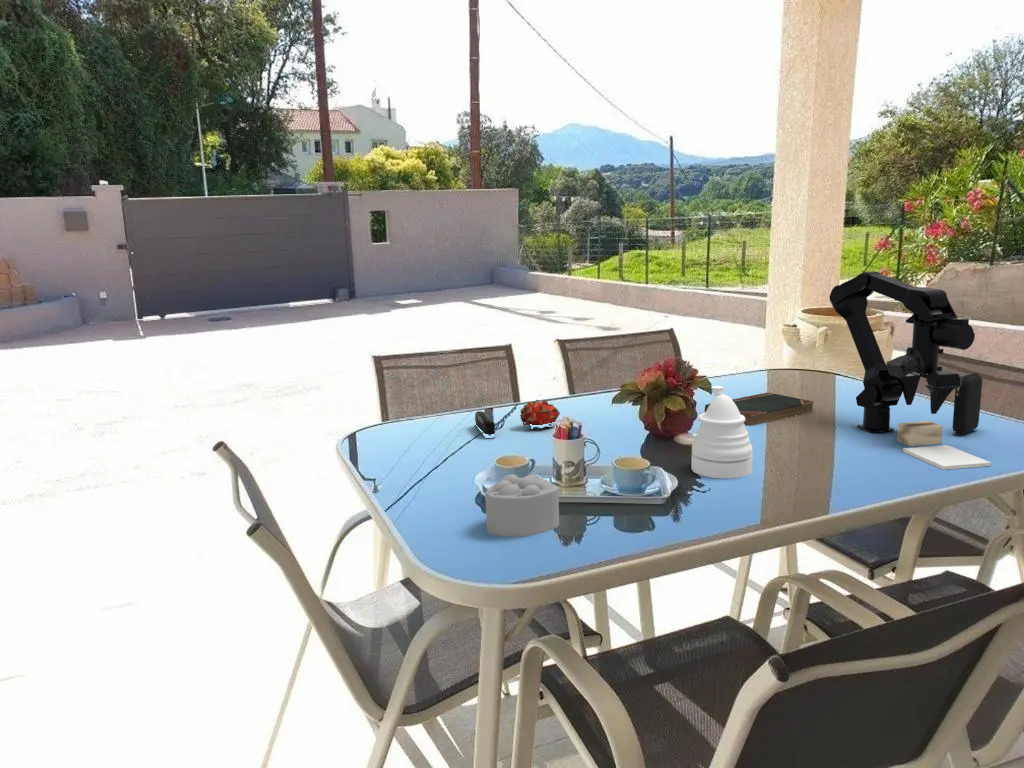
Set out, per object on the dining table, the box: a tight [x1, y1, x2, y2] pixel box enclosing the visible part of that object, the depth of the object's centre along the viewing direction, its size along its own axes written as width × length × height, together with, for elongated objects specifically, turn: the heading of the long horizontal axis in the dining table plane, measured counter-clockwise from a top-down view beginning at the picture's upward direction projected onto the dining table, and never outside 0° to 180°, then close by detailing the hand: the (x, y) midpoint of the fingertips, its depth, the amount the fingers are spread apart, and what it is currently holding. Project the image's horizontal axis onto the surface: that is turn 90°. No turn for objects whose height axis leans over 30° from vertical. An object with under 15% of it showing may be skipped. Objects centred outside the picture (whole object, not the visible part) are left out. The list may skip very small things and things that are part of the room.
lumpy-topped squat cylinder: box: [485, 473, 560, 538], centre depth 145 cm, size 10×13×9 cm
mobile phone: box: [474, 410, 496, 434], centre depth 212 cm, size 5×3×15 cm
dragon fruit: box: [519, 399, 561, 426], centre depth 214 cm, size 8×8×12 cm
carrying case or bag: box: [952, 372, 983, 436], centre depth 195 cm, size 11×3×15 cm, turn 127°
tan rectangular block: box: [896, 420, 944, 447], centre depth 190 cm, size 5×8×5 cm, turn 99°
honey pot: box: [691, 385, 754, 480], centre depth 173 cm, size 13×13×18 cm
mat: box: [902, 444, 992, 471], centre depth 177 cm, size 14×11×1 cm
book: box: [704, 392, 816, 426], centre depth 223 cm, size 17×4×25 cm
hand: (920, 409), depth 189 cm, fingers open, 9 cm apart
